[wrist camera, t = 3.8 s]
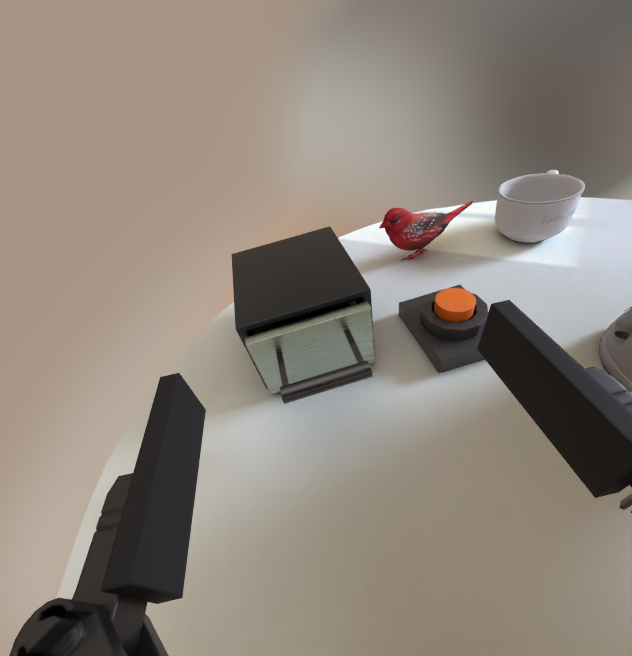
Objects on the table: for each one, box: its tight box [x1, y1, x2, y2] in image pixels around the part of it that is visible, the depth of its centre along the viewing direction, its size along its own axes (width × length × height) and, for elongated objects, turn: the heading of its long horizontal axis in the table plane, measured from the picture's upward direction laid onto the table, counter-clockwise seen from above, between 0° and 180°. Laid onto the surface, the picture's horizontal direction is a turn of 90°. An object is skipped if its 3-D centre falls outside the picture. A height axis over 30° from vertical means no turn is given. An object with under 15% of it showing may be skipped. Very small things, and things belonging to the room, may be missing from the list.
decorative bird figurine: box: [379, 201, 473, 261], centre depth 49 cm, size 3×18×10 cm, turn 113°
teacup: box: [495, 170, 585, 242], centre depth 49 cm, size 14×11×8 cm
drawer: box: [245, 300, 375, 404], centre depth 36 cm, size 21×13×9 cm, turn 14°
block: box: [399, 285, 489, 373], centre depth 38 cm, size 11×9×4 cm
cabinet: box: [232, 227, 375, 389], centre depth 40 cm, size 16×14×11 cm
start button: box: [434, 288, 476, 323], centre depth 36 cm, size 4×4×2 cm
